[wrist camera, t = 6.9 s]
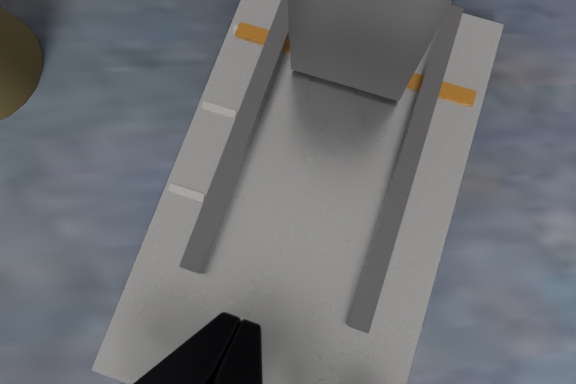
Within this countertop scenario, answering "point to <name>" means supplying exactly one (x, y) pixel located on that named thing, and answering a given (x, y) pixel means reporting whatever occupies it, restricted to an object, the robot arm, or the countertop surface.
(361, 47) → the fader tab
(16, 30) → the cork
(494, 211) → the countertop surface
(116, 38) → the countertop surface
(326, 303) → the plate
